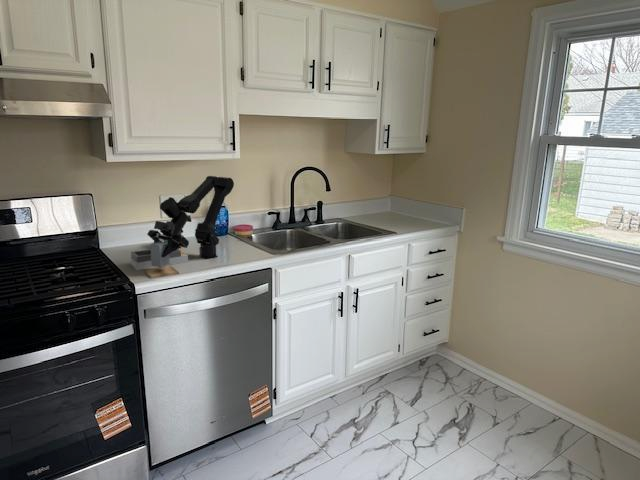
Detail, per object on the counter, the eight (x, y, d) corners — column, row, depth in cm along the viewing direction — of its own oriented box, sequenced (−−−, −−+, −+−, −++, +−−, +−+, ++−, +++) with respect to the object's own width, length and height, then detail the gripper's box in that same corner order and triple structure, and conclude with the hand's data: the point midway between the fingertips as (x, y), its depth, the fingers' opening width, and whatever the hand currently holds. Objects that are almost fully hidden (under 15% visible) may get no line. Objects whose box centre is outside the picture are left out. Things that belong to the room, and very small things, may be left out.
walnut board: (170, 266, 198) (169, 265, 197) (178, 273, 189) (178, 271, 189) (143, 270, 191) (143, 269, 191) (151, 278, 183) (151, 276, 182)
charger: (160, 262, 193) (159, 241, 190) (169, 264, 190) (168, 243, 188) (151, 265, 188) (150, 244, 186) (160, 267, 186) (159, 245, 184)
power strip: (180, 257, 212) (180, 245, 211) (188, 262, 205) (187, 250, 204) (130, 264, 199) (129, 252, 198) (136, 269, 192) (135, 257, 191)
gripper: (149, 210, 192) (129, 242, 185) (182, 215, 183) (162, 248, 177) (165, 225, 201) (146, 256, 194) (197, 231, 192) (178, 263, 185)
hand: (157, 256), depth 187 cm, fingers closed on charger, 5 cm apart
